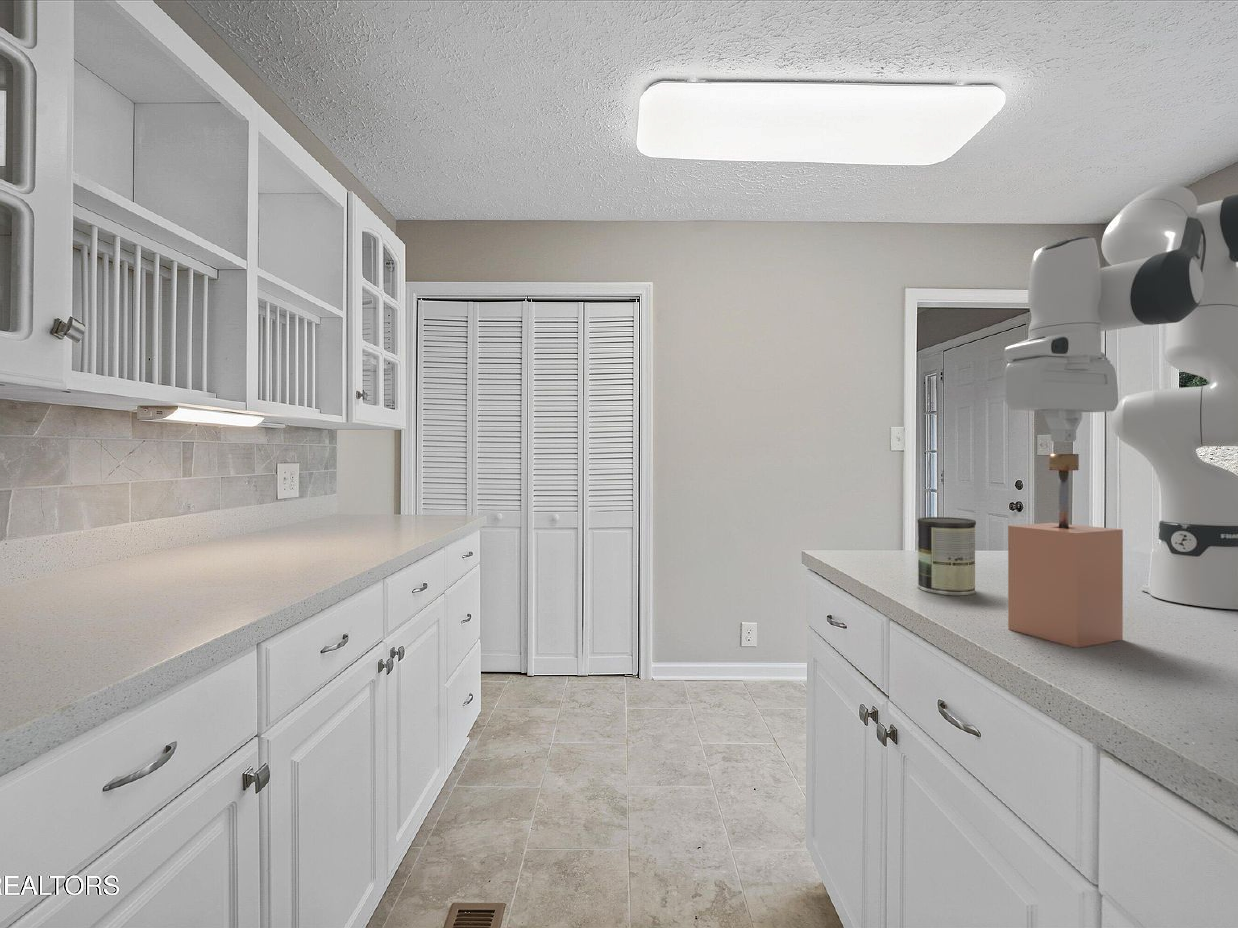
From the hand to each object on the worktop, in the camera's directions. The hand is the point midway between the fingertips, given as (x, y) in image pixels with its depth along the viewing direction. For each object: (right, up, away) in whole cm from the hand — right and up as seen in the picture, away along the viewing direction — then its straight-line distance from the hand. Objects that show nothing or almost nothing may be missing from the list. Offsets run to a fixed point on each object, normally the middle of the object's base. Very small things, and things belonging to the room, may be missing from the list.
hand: (1063, 441), depth 91 cm
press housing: (0, -29, 0) cm, 29 cm away
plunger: (0, -15, 0) cm, 15 cm away
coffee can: (-1, -29, +31) cm, 42 cm away
